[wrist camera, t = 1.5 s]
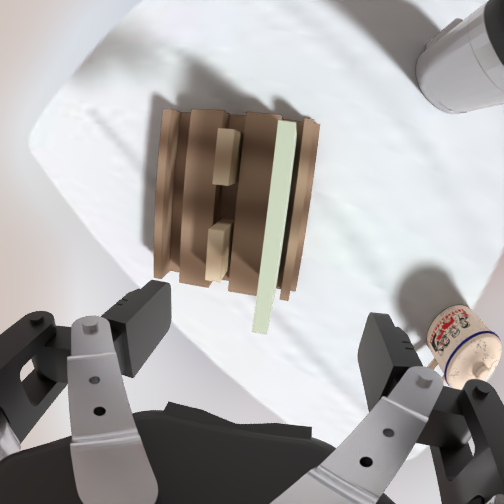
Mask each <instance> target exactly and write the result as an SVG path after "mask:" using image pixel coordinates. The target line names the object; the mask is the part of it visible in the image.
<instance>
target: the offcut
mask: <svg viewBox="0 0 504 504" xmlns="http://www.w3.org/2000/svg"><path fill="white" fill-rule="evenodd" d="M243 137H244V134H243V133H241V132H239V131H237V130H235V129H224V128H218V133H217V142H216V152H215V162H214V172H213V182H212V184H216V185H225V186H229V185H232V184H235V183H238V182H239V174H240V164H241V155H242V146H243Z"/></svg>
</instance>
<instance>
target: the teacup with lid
mask: <svg viewBox="0 0 504 504" xmlns="http://www.w3.org/2000/svg"><path fill="white" fill-rule="evenodd" d="M427 343H428V347H429V349H430V350H431V352H432V354H433V356H434V357H435V358H434V359H433V360H432V361H431V362H430V364H429V365H428V367H427V368H430V369H432V370H434V368H435V367H436V366H437V365H438V364H439V366H440V368H441V370H442V372H443V373H444V376H443V377H442V379H443V385H445V384H446V383H447V384H448V385H449V386H450V387H452V388H454V389H459V390H462V388H463V386H464V385H465V383H466V382H467V381H468V380H470V379H480V380H483V381H484V380H486V379H487V378H488V377H489V376H490V374H491V373H492V372H493V371H494V369H495V368H496V366H497V364H498V362H499V359H500V356H501V342H500V339H499V337H498V336H497V335H496V334H495V333H494V332H491V331H490V330H489V329H488V327H487V326H486V325H485V324H484V323H483V322H482V321H481V320H480V319H479V318H478V317H477V316H476V314H475V313H474V312H473V311H472V310H471V309H470V308H468V307H466V306H463V305H456V306H452V307H449V308H447V309H445V310H444V311H443V312H441V313H440V314H439V315H438V316H437V317H436V318H435V319H434V321H433V322H432V324H431V326H430V328H429V331H428V335H427Z"/></svg>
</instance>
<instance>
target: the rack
mask: <svg viewBox="0 0 504 504" xmlns="http://www.w3.org/2000/svg"><path fill="white" fill-rule="evenodd" d="M278 120H281V121H289V122H296V133H297V140H296V148H295V157H294V165H293V173H292V181H291V188H290V196H289V204H288V211H287V218H286V226H285V233H284V240H283V247H282V254H281V261H280V267H279V274H278V279H277V285H276V288H277V289H281V294H280V300H286V301H288V300H289V294H290V291H296V286H297V281H298V275H299V269H300V263H301V257H302V251H303V245H304V239H305V233H306V226H307V219H308V213H309V206H310V199H311V192H312V185H313V177H314V170H315V162H316V154H317V146H318V138H319V129H320V124H316V123H314V119H307V118H305V119H304V122H302V121H294V120H286V119H282V116H281V115H275V114H266V113H255V112H246V115H233V114H229V113H227V112H226V111H224V110H205V109H192V110H191V113H182V112H178V111H176V110H173V109H163V116H162V124H161V134H160V144H159V155H158V168H157V182H156V200H155V224H154V278H159V279H162V278H163V277H164V276H165V275H166V274H167V273H168V272H169V271H175V272H180V274H179V282H180V283H185V284H190V285H196V286H201V287H207V288H208V287H209V286H210V284H211V283H212V281H208V280H205V274H206V258H207V243H208V230H209V228H211V227H212V226H213V225H214V224H216V223H217V222H218V221H220V220H221V219H222V218H225V219H233V220H235V222H234V232H233V242H232V253H231V264H230V267H229V269H228V271H227V272H226V274H225V275H224V277H223V278H222V280H227V281H229V286H228V291H230V292H236V293H242V294H248V295H254V296H257V290H258V282H259V274H260V266H261V259H262V251H263V243H264V235H265V227H266V219H267V210H268V202H269V194H270V186H271V177H272V169H273V161H274V152H275V144H276V135H277V127H278ZM218 128H224V129H235V130H237V131H239V132H241V133H243V134H244V137H243V146H242V155H241V164H240V174H239V182H238V183H235V184H232V185H229V186H225V185H216V184H212V182H213V172H214V162H215V152H216V142H217V133H218Z"/></svg>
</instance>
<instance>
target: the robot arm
mask: <svg viewBox="0 0 504 504" xmlns="http://www.w3.org/2000/svg"><path fill="white" fill-rule="evenodd" d="M416 77H417V81H418V84H419V87H420V89H421V91H422V92H423V94H424V95H425V97H426V98H427V99H428V101H429V102H431V103H432V104H433V105H434V106H435V107H436V108H438V109H439V110H441V111H444V112H446V113H450V114H460V113H466V112H468V111H473V110H478V109H482V108H487V107H491V106H496V105H501V104H504V0H489V1H488V2H486V3H485V4H484V5H482V6H481V7H480V8H478V9H477V10H476V11H475V12H473V13H472V14H471V15H470V16H468V17H467V18H466V19H464V20H462V19H459V18H457V19H455V20H454V21H452V22H451V23H450V24H449V25H448V26H447V27H445V28H444V29H443V30H442V31H441V32H439V33H438V34H437V35H436V36H435V37H434V38H432V39H431V40H430V41H429V42H428V43H427V44H426V50H425V51H424V52H423V53H422V54H421V55H420V57H419V58H418V60H417V64H416ZM170 324H171V286H170V284H169V283H167V282H161V281H156V280H151V281H149V282H148V283H147V284H146V285H145V286H144V287H143V288H141V289H137V290H134V291H132V292H129V293H128V294H126V296H124V297H123V298H122V300H119V301H118V302H117V303H116V304H115V305H113V306H112V307H111V308H110V309H109V310H108V311H106V312H105V313H104V314H103V315H102V316H101V317H99V316H86V317H82V318H80V319H78V320H76V321H75V322H74V323H73V324H72V327H64V326H56V325H55V321H54V316H53V315H52V314H51V313H49V312H46V311H36V312H32V313H29V314H27V315H25V316H24V317H23V318H21V319H20V320H19V321H17V322H16V323H15V324H14V325H12V326H11V327H10V328H8V329H7V330H6V331H4V332H3V333H2V334H1V335H0V504H395V503H394V502H393V501H392V500H391V499H390V498H389V497H388V496H387V495H385V494H384V493H383V492H384V491H385V489H386V488H387V487H388V485H389V484H390V482H391V481H392V479H393V478H394V476H395V475H396V473H397V472H398V470H399V469H400V467H401V466H402V464H403V463H404V461H405V459H406V458H407V456H408V455H409V453H410V451H411V450H412V448H413V446H414V445H415V443H420V444H425V445H430V449H431V453H432V457H433V462H434V466H435V470H436V475H437V480H438V485H439V490H440V496H441V501H442V504H504V405H503V403H502V401H501V400H500V398H499V396H498V395H497V392H496V391H495V389H494V388H493V387H492V386H491V385H490V384H489V383H487V382H485V381H483V380H480V379H470V380H468V381H467V382H466V383H465V385H464V386H463V388H462V390H459V389H454V388H450V387H446V386H443V379H442V378H441V376H440V375H439V374H438V373H437V372H435V371H434V370H432V369H430V368H427V367H423V365H422V363H421V361H420V359H419V357H418V355H417V353H416V351H415V350H414V347H413V345H412V343H411V341H410V339H409V337H408V335H407V334H406V333H405V332H404V331H403V330H401V329H400V328H399V327H395V326H394V324H393V322H392V320H391V318H390V316H389V314H382V313H372V312H371V313H370V314H369V316H368V318H367V322H366V325H365V328H364V332H363V335H362V338H361V342H360V345H359V349H358V363H359V367H360V372H361V376H362V381H363V385H364V390H365V395H366V400H367V404H368V409H369V414H368V415H367V416H366V417H365V418H364V419H363V421H362V422H361V423H360V424H359V425H358V426H357V427H356V428H355V429H354V431H353V432H352V433H351V434H350V435H349V436H348V437H347V438H346V439H345V440H344V441H343V442H342V443H341V444H340V445H339V446H338V447H337V448H335V447H333V446H332V445H330V444H328V443H326V442H324V441H321V440H318V439H316V438H312V427H306V426H297V425H288V424H279V423H267V424H235V423H232V422H230V421H227V420H225V419H222V418H220V417H218V416H215V415H213V414H210V413H208V412H206V411H204V410H201V409H197V408H192V407H188V406H184V405H180V404H176V403H172V402H168V404H167V406H166V408H165V409H164V411H162V410H150V411H142V412H137V413H133V414H132V412H131V409H130V405H129V402H128V398H127V394H126V391H125V387H124V383H123V380H122V376H121V375H125V376H128V377H131V378H134V377H135V375H136V374H137V373H138V371H139V370H140V368H141V367H142V366H143V364H144V363H145V362H146V360H147V359H148V357H149V356H150V355H151V353H152V352H153V350H154V349H155V348H156V346H157V345H158V344H159V342H160V341H161V340H162V338H163V337H164V336H165V334H166V333H167V332H168V330H169V327H170ZM30 359H32V362H33V365H34V368H35V369H34V370H33V371H32V372H31V373H30V374H29V375H28V376H27V377H26V378H25V379H24V380H23V381H22V382H21V380H20V371H21V369H22V367H23V366H24V365H25V364H26V363H27V362H28V361H29V360H30ZM67 384H68V397H69V411H70V422H71V432H72V436H69V437H66V438H63V439H60V440H56V441H53V442H50V443H47V444H44V445H40V446H37V447H33V448H30V449H26V450H22V451H20V448H21V447H20V444H21V442H22V441H23V440H24V439H25V437H26V436H27V435H28V433H29V432H30V431H31V429H32V428H33V427H34V425H35V424H36V423H37V422H38V420H39V419H40V418H41V417H42V415H43V414H44V413H45V411H46V410H47V409H48V408H49V406H50V405H51V403H53V401H54V400H55V399H56V397H57V396H58V395H59V394H60V393H61V391H62V390H63V389H64V388H65V387H66V385H67ZM471 437H472V439H473V441H474V444H475V453H474V456H473V455H472V452H471V450H470V447H469V444H468V441H469V440H470V438H471Z"/></svg>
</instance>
